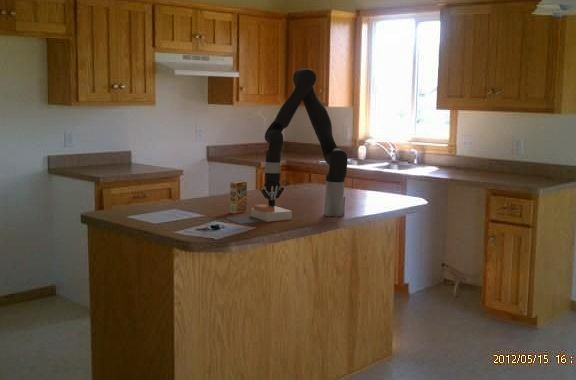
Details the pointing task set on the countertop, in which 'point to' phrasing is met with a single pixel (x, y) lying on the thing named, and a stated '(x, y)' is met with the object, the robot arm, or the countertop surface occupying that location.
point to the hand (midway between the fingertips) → (271, 207)
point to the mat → (245, 220)
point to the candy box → (238, 197)
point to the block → (264, 208)
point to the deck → (272, 214)
